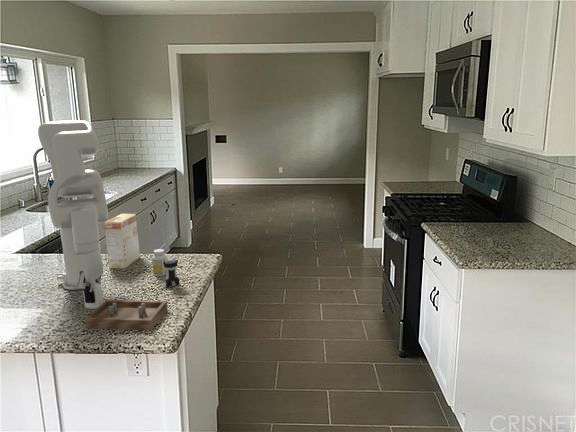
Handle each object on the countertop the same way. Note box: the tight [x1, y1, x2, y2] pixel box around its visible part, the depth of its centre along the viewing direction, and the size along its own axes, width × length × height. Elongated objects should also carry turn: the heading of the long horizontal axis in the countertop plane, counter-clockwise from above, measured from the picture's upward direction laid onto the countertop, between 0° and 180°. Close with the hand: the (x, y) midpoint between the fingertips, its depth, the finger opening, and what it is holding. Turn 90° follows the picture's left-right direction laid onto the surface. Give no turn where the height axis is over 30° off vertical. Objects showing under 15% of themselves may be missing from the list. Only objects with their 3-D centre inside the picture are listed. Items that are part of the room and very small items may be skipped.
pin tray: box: [84, 299, 168, 331], centre depth 148 cm, size 20×14×4 cm
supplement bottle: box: [151, 248, 167, 277], centre depth 186 cm, size 5×5×10 cm
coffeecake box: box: [103, 213, 141, 269], centre depth 200 cm, size 15×7×20 cm, turn 172°
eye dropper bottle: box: [82, 280, 104, 310], centre depth 156 cm, size 4×6×12 cm
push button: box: [160, 257, 180, 288], centre depth 174 cm, size 7×5×10 cm
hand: (93, 299), depth 157 cm, fingers closed on eye dropper bottle, 3 cm apart
